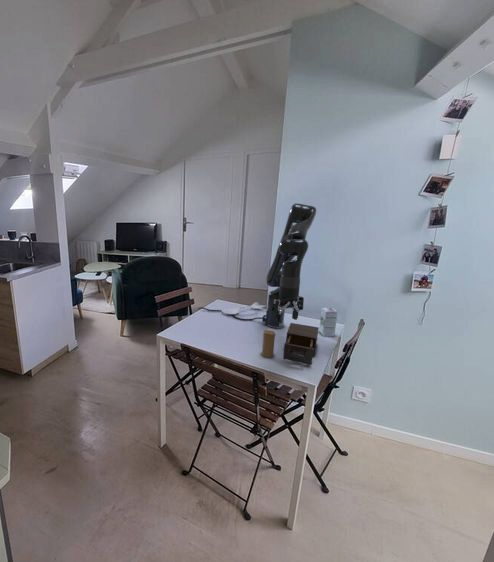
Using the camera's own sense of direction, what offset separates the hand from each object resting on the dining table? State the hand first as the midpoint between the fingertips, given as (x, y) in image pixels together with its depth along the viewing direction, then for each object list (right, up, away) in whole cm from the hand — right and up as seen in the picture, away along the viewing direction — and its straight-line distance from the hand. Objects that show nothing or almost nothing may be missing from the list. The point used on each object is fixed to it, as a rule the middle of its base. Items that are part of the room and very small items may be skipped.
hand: (286, 320), depth 138 cm
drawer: (+10, -19, +9) cm, 23 cm away
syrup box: (+40, -12, +34) cm, 54 cm away
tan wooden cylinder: (-1, -19, +15) cm, 24 cm away
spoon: (+9, -3, +72) cm, 73 cm away
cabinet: (+18, -16, +20) cm, 32 cm away
